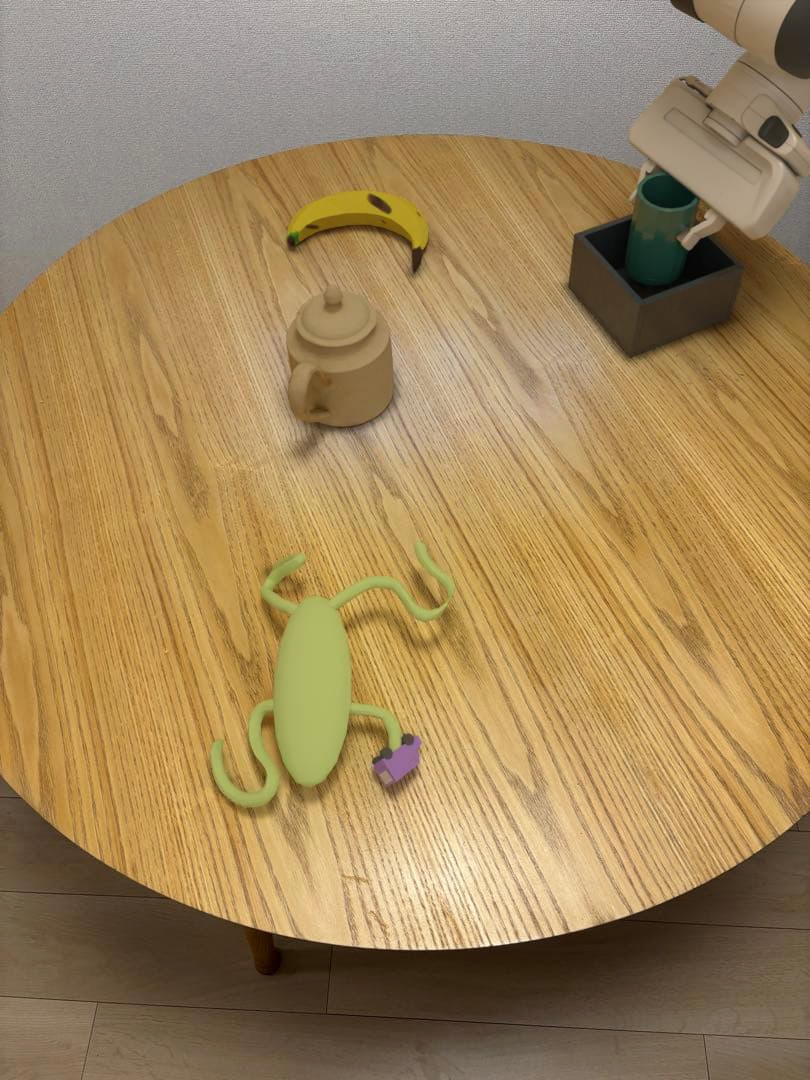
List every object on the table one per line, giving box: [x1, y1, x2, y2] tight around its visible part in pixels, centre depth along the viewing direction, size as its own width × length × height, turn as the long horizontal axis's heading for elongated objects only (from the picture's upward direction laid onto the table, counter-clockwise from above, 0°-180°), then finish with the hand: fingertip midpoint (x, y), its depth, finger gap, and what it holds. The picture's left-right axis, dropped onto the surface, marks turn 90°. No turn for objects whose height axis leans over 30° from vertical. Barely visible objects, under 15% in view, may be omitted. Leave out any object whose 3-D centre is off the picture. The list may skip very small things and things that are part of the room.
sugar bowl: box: [285, 283, 395, 428], centre depth 104 cm, size 15×11×15 cm
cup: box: [624, 172, 701, 286], centre depth 110 cm, size 7×7×10 cm
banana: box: [286, 189, 430, 273], centre depth 124 cm, size 5×17×15 cm
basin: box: [567, 213, 747, 358], centre depth 114 cm, size 14×14×8 cm
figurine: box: [209, 541, 456, 808], centre depth 88 cm, size 18×27×6 cm
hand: (658, 225), depth 109 cm, fingers closed on cup, 6 cm apart
